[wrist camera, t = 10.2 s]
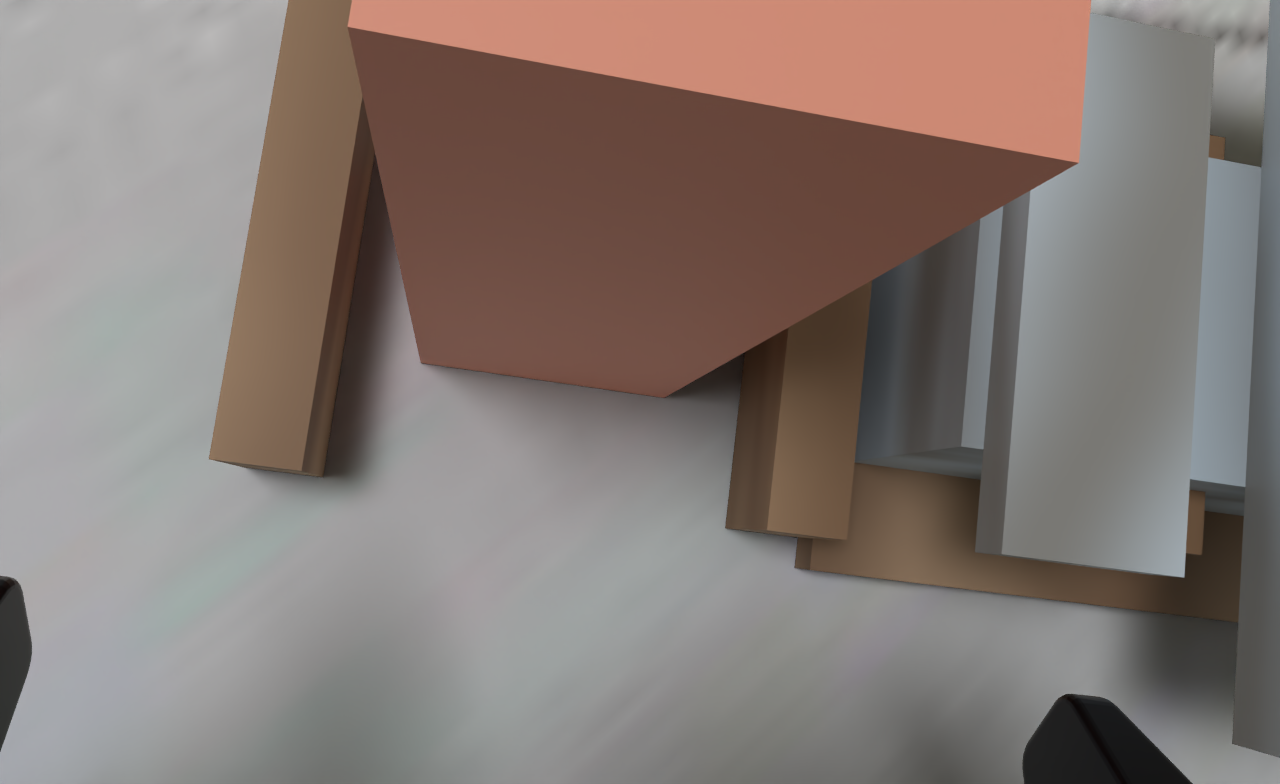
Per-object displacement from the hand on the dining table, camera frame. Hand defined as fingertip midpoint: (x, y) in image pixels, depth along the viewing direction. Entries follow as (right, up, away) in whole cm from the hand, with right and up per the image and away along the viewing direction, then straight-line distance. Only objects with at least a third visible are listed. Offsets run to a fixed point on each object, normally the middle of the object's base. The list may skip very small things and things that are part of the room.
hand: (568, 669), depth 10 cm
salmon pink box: (-1, +4, +9) cm, 10 cm away
